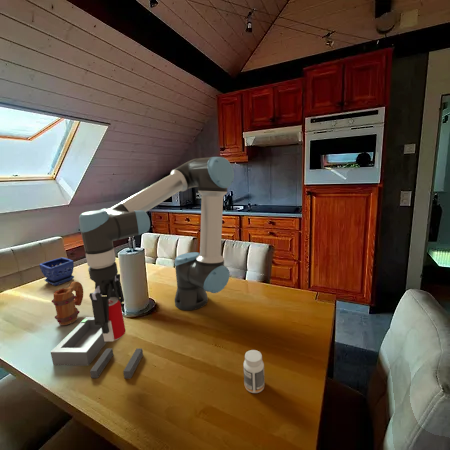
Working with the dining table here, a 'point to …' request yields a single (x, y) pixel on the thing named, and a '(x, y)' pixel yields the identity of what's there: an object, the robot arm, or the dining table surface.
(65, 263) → the flower pot
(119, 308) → the beverage can
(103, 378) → the dining table surface
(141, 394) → the dining table surface
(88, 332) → the tray
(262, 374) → the pill bottle
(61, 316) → the mug
